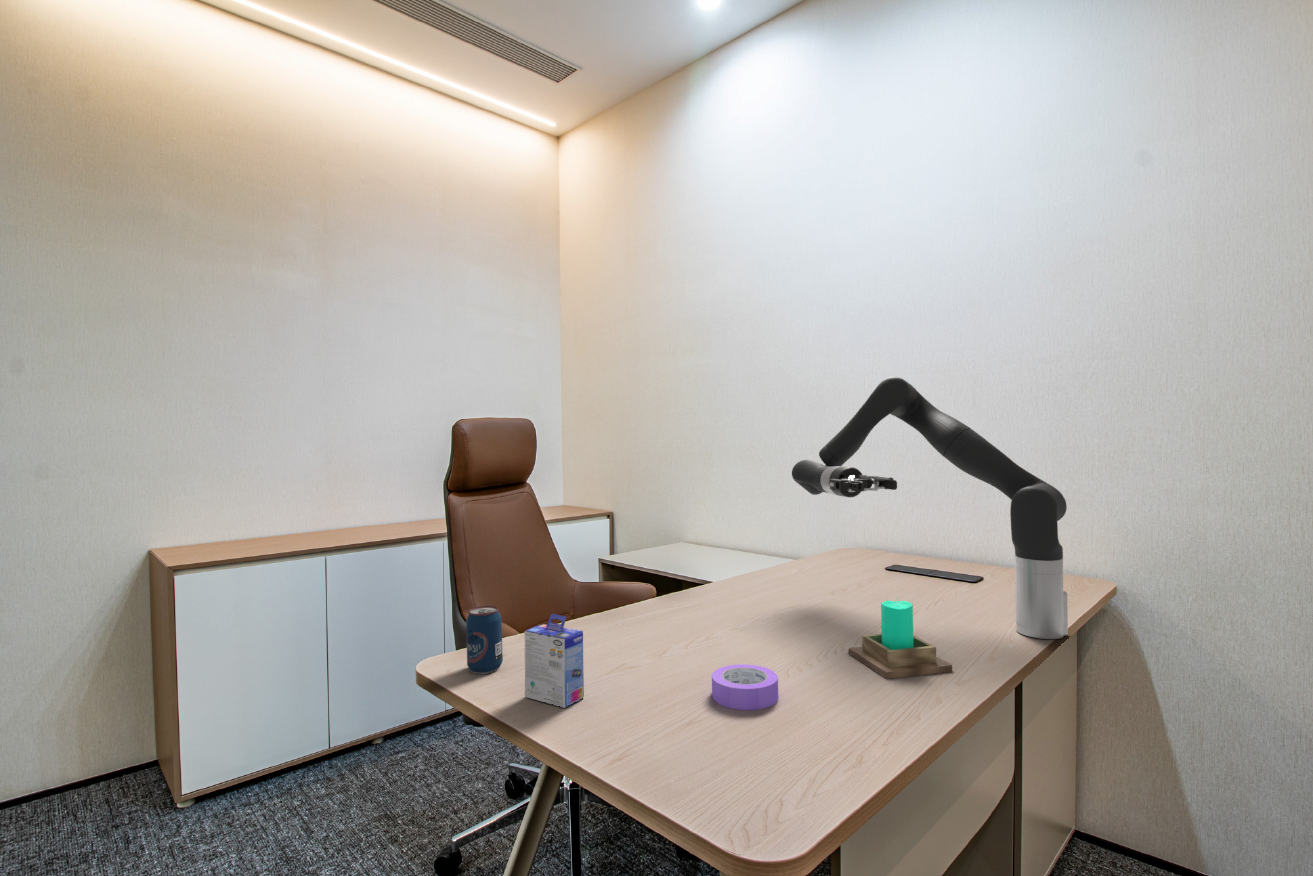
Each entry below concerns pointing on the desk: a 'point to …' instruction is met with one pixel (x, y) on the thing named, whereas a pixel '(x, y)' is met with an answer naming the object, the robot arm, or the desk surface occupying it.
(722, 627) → the desk surface
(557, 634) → the ink cartridge box
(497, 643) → the soda can
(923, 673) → the candle holder
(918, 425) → the robot arm
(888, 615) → the candle
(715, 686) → the masking tape
